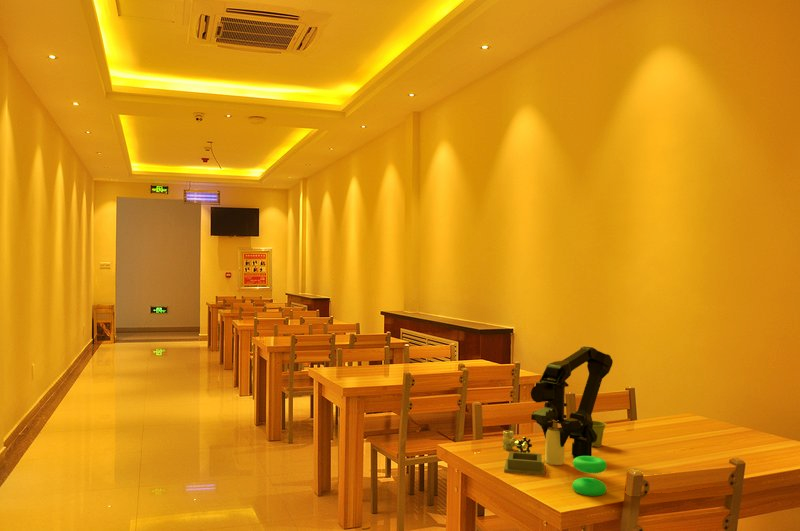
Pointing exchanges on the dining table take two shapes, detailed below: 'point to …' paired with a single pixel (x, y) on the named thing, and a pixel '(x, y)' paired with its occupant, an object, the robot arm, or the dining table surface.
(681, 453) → the dining table surface
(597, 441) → the plant pot
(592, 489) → the donuts
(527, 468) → the socket holder
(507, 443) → the valve
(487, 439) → the dining table surface
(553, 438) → the can
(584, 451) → the robot arm
